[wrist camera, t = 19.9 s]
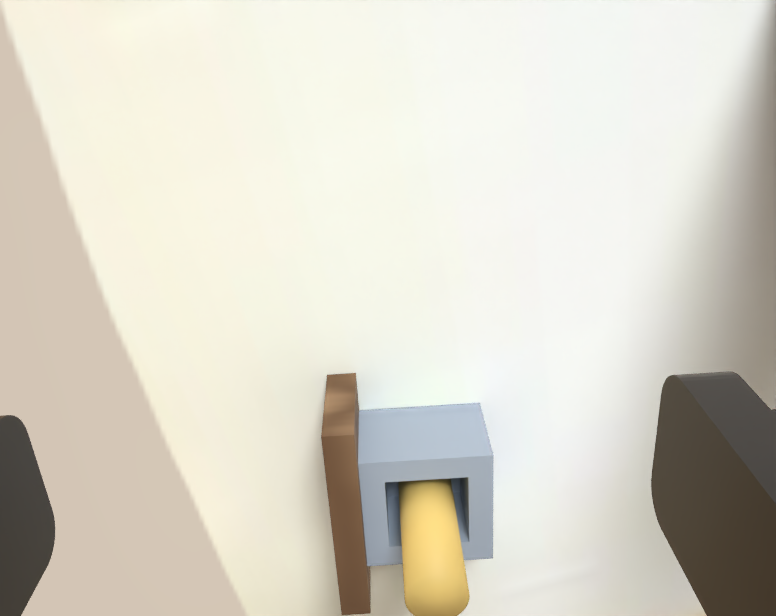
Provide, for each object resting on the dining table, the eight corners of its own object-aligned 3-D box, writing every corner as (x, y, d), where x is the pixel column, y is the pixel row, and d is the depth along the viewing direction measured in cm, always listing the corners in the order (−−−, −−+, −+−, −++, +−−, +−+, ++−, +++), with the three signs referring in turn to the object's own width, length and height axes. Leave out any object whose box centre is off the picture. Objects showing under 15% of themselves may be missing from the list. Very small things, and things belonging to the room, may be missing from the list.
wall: (355, 373, 41) (354, 434, 36) (370, 537, 46) (370, 613, 41) (327, 375, 41) (321, 436, 36) (344, 538, 46) (341, 614, 41)
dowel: (447, 441, 42) (469, 572, 33) (448, 482, 43) (469, 619, 34) (395, 444, 42) (403, 576, 33) (398, 485, 43) (406, 623, 34)
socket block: (479, 403, 42) (493, 455, 38) (480, 499, 45) (492, 558, 41) (358, 410, 42) (357, 463, 38) (367, 506, 45) (367, 566, 41)
